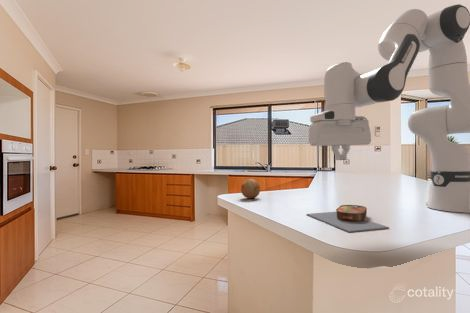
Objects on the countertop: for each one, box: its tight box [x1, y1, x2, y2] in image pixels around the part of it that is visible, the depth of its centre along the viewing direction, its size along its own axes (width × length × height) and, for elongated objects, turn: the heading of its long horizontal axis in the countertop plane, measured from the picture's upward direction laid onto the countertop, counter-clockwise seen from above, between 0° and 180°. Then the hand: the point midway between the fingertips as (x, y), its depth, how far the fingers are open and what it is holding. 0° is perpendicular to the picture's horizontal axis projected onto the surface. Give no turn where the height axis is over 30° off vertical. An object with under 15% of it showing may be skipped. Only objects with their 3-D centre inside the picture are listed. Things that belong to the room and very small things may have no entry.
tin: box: [335, 204, 368, 221], centre depth 83 cm, size 15×3×8 cm
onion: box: [240, 178, 261, 199], centre depth 127 cm, size 10×10×10 cm
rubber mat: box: [306, 211, 390, 233], centre depth 79 cm, size 13×22×1 cm, turn 14°
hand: (341, 160), depth 78 cm, fingers closed
